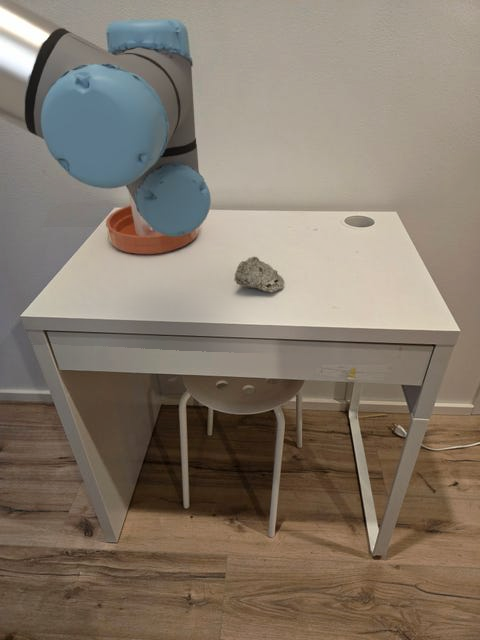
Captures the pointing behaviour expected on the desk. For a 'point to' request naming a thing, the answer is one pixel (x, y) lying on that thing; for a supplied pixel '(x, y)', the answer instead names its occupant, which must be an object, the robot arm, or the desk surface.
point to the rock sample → (258, 275)
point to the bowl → (129, 241)
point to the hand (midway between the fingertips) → (121, 128)
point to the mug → (141, 222)
